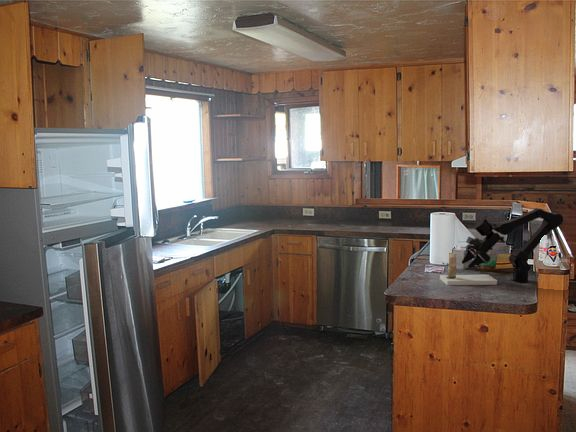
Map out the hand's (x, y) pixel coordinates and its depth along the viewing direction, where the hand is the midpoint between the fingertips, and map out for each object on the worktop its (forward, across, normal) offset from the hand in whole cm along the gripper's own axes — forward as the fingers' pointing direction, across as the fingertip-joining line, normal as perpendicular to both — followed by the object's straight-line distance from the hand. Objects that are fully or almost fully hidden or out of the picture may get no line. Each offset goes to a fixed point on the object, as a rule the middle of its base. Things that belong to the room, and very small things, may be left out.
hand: (465, 265), depth 259 cm
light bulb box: (-1, -32, +13) cm, 34 cm away
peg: (+10, 0, +1) cm, 10 cm away
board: (+5, 0, +7) cm, 8 cm away
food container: (-7, -22, +20) cm, 31 cm away
